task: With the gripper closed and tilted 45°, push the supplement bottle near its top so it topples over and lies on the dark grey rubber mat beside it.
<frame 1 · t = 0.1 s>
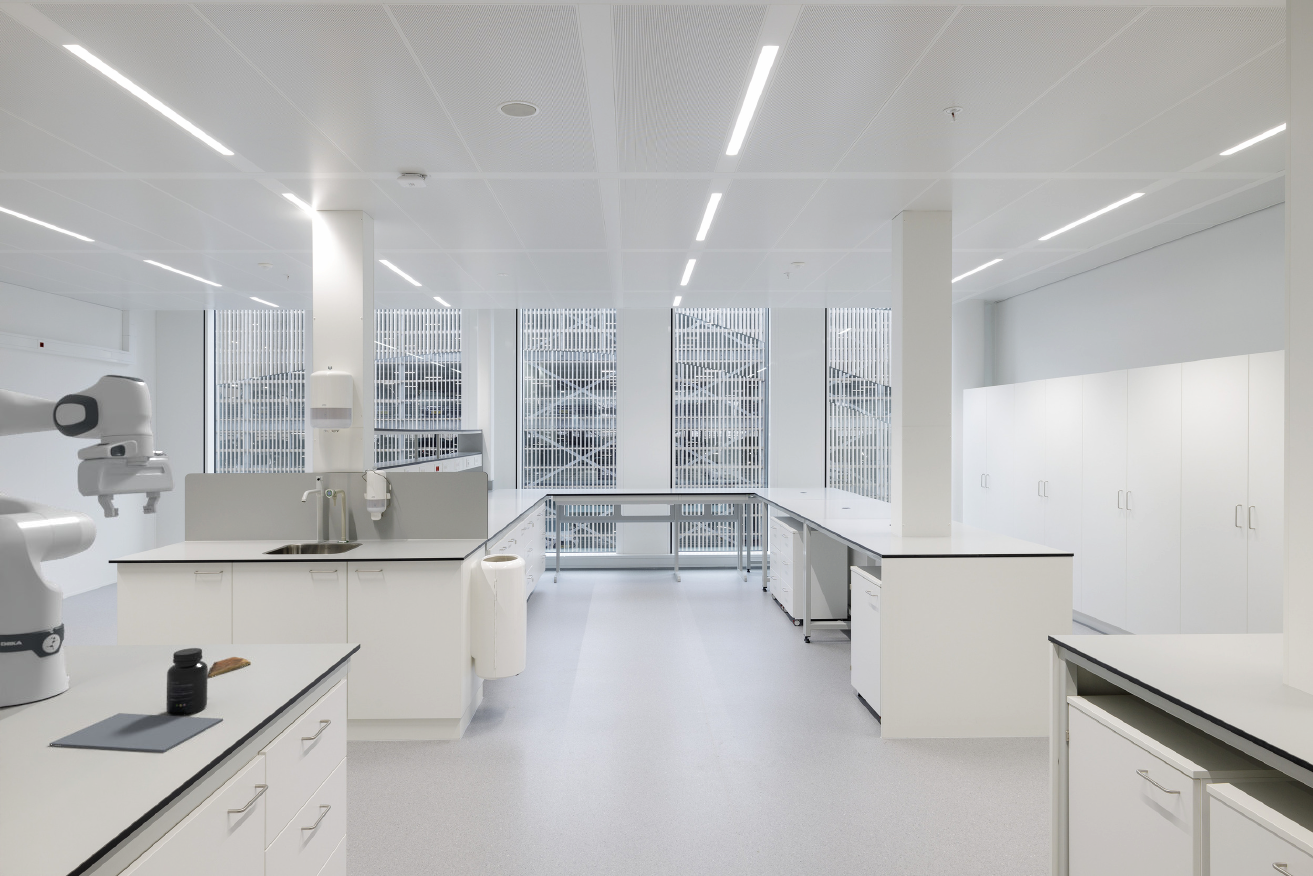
hand: (131, 515, 142), 39 cm above the counter, tool pointing down, fingers open, 8 cm apart
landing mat: (140, 732, 125), on the counter
shard: (230, 671, 162), on the counter
supplement bottle: (186, 711, 136), on the counter
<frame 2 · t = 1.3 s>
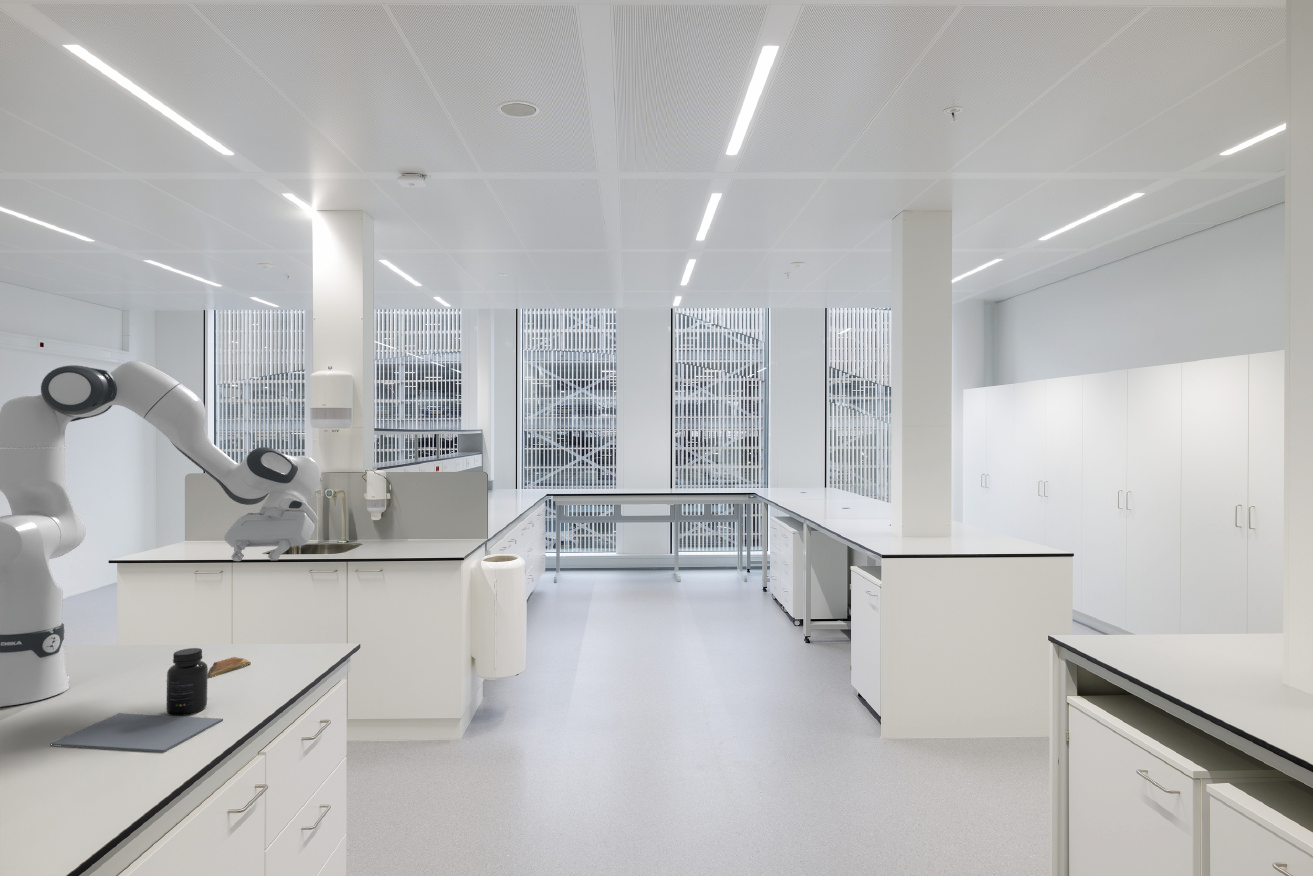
hand: (253, 559, 155), 28 cm above the counter, tool tilted 45°, fingers open, 8 cm apart
nothing on the counter moved.
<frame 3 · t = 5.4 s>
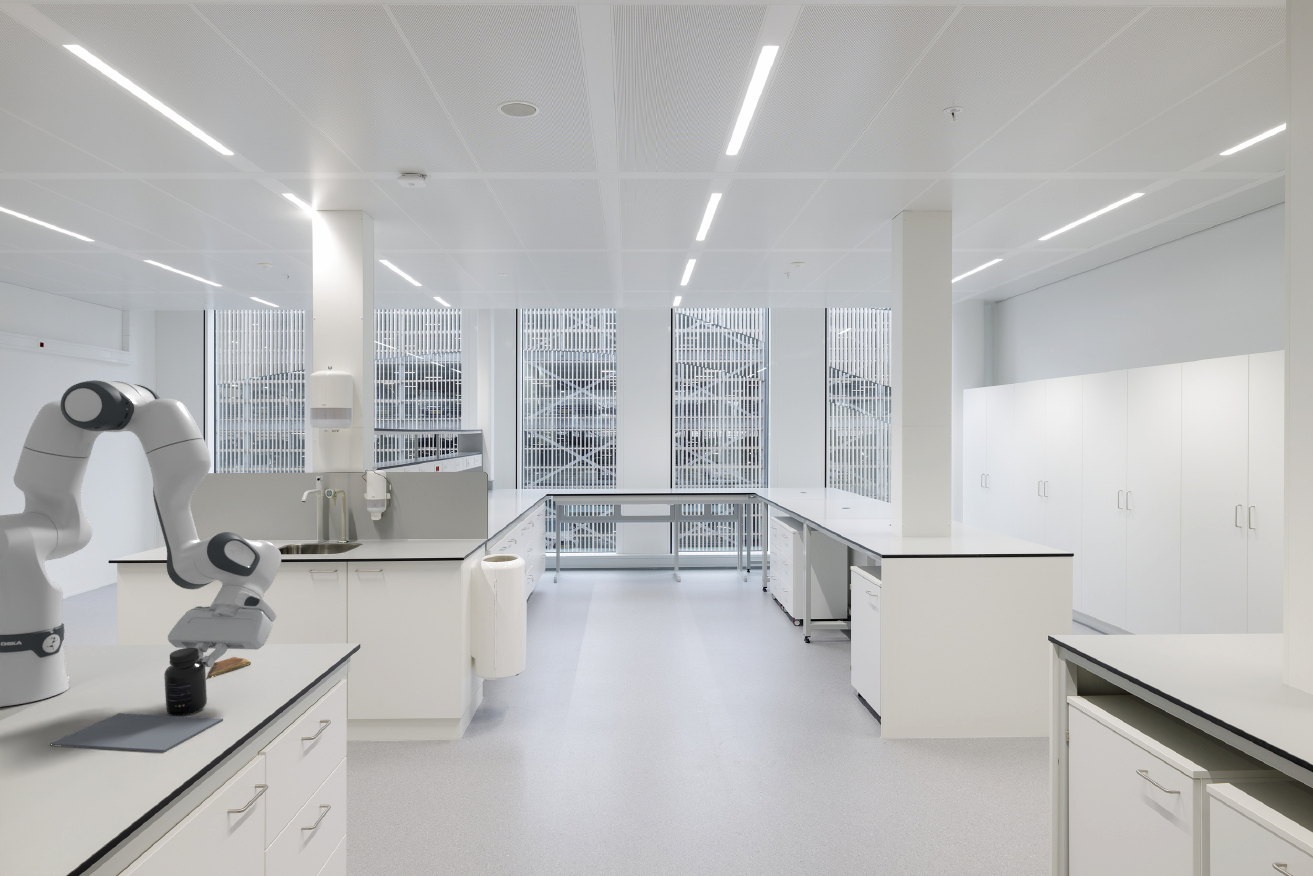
hand: (201, 665, 139), 8 cm above the counter, tool tilted 45°, fingers closed
supplement bottle: (186, 710, 136), on the counter, touching gripper
everything else where it was.
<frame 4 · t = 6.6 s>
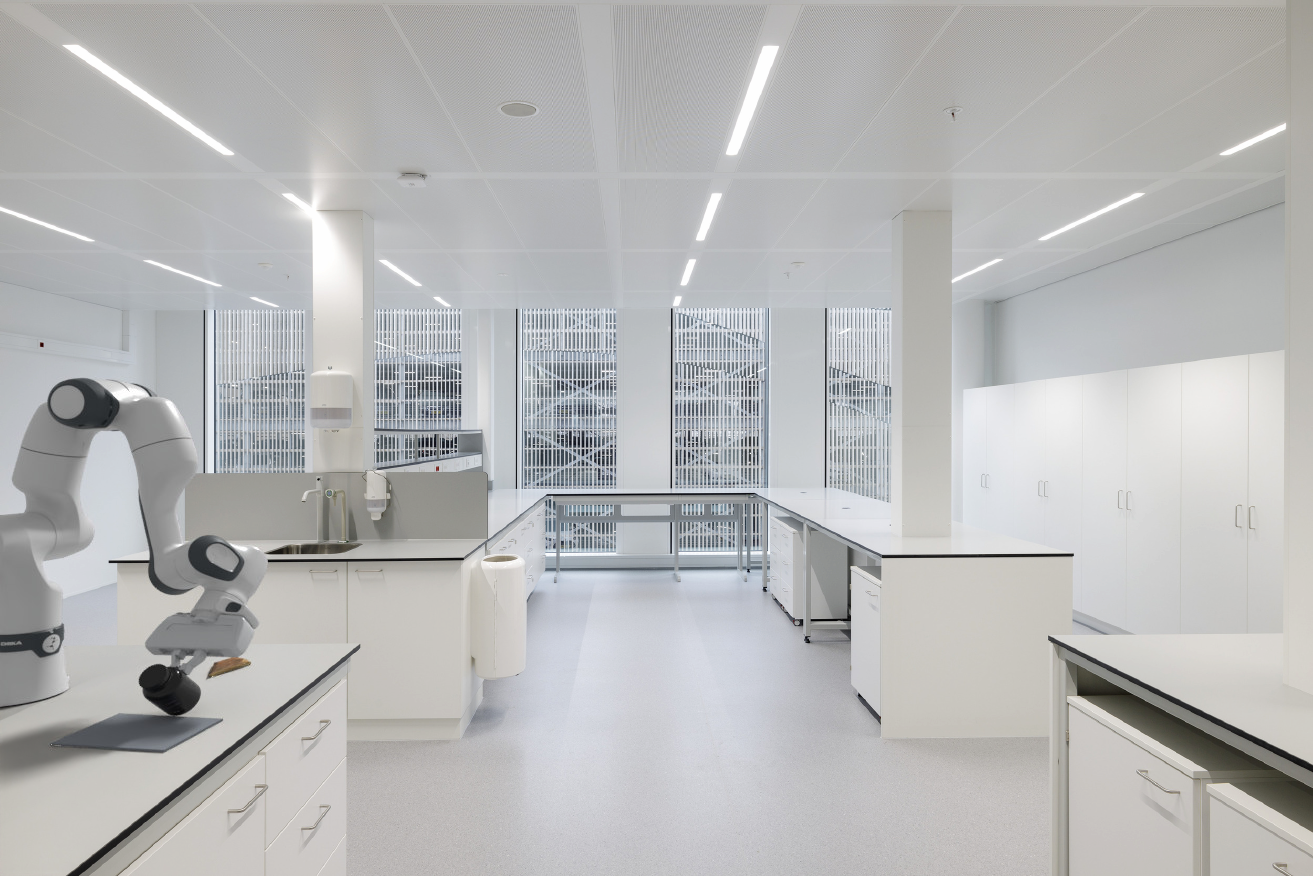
hand: (177, 673, 133), 8 cm above the counter, tool tilted 45°, fingers closed
supplement bottle: (183, 700, 135), point 2 cm above the counter, touching gripper
everything else where it was.
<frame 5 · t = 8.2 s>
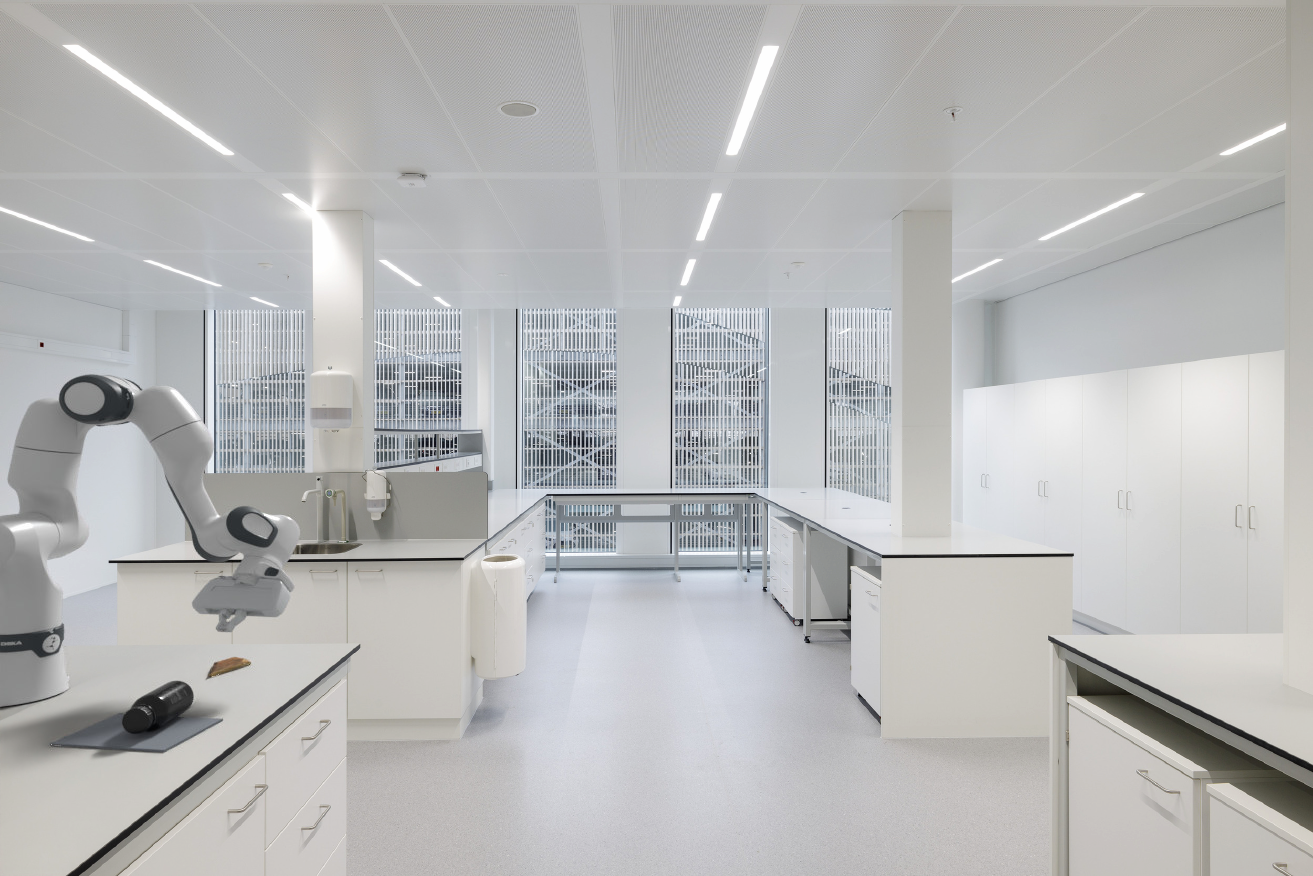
hand: (223, 630, 146), 14 cm above the counter, tool tilted 45°, fingers closed
supplement bottle: (177, 696, 133), point 4 cm above the counter, touching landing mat
everything else where it was.
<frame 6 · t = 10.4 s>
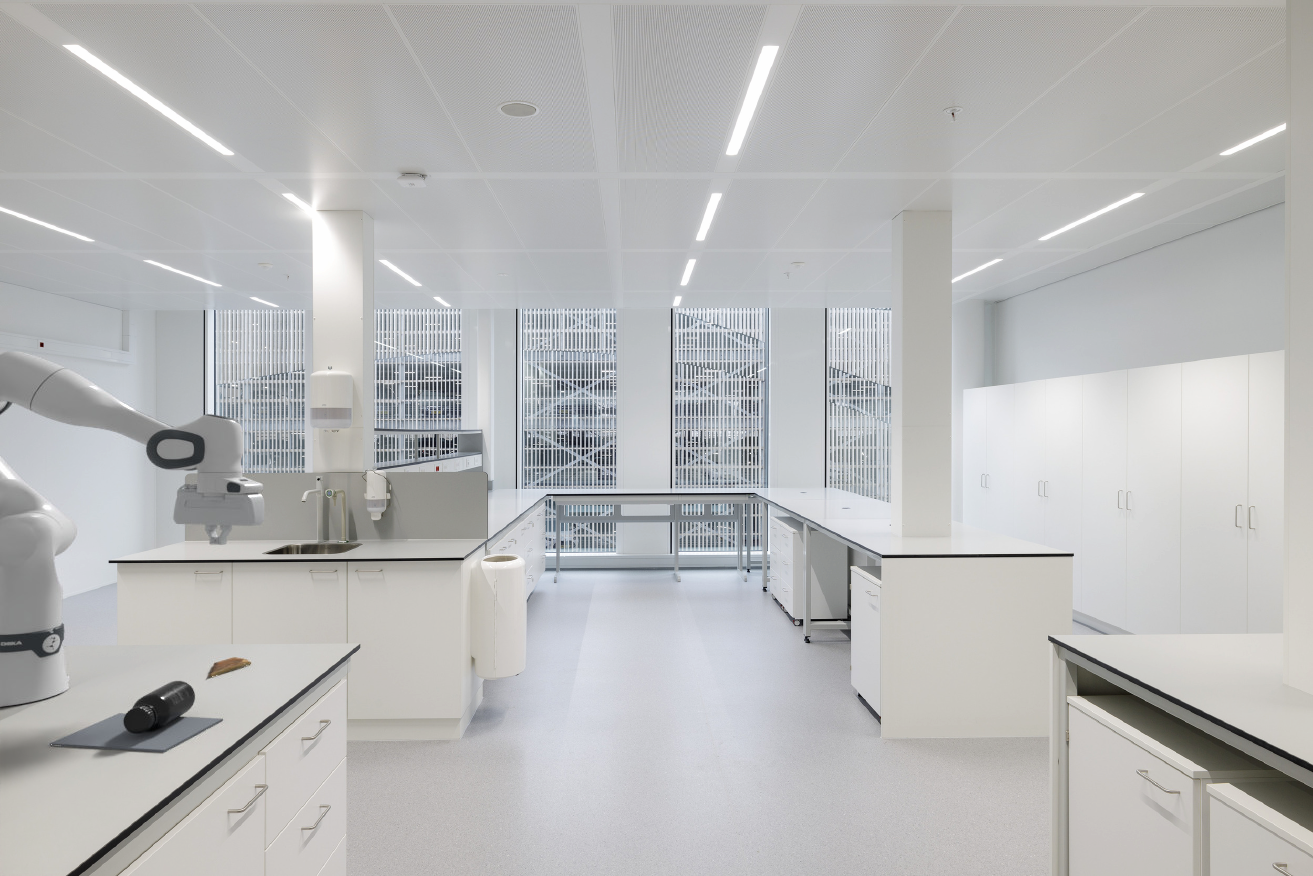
hand: (218, 544, 155), 31 cm above the counter, tool pointing down, fingers closed
nothing on the counter moved.
at the end: supplement bottle tilted 89°; supplement bottle touching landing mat; supplement bottle inside the target area (6.2 cm from its centre), point 3.7 cm above the counter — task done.
